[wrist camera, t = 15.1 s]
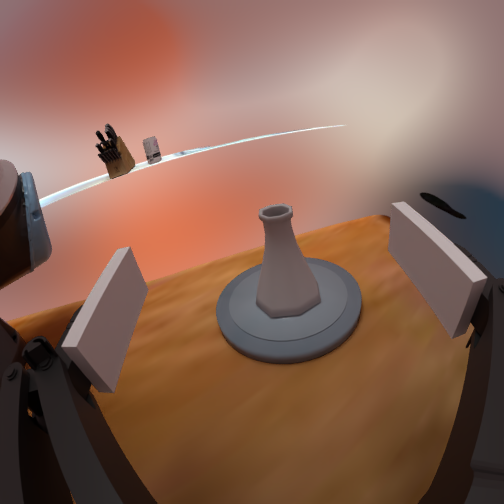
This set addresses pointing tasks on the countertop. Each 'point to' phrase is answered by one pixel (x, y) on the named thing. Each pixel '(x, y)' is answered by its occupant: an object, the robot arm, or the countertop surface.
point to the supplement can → (152, 150)
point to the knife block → (114, 153)
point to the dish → (290, 317)
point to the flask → (284, 268)
